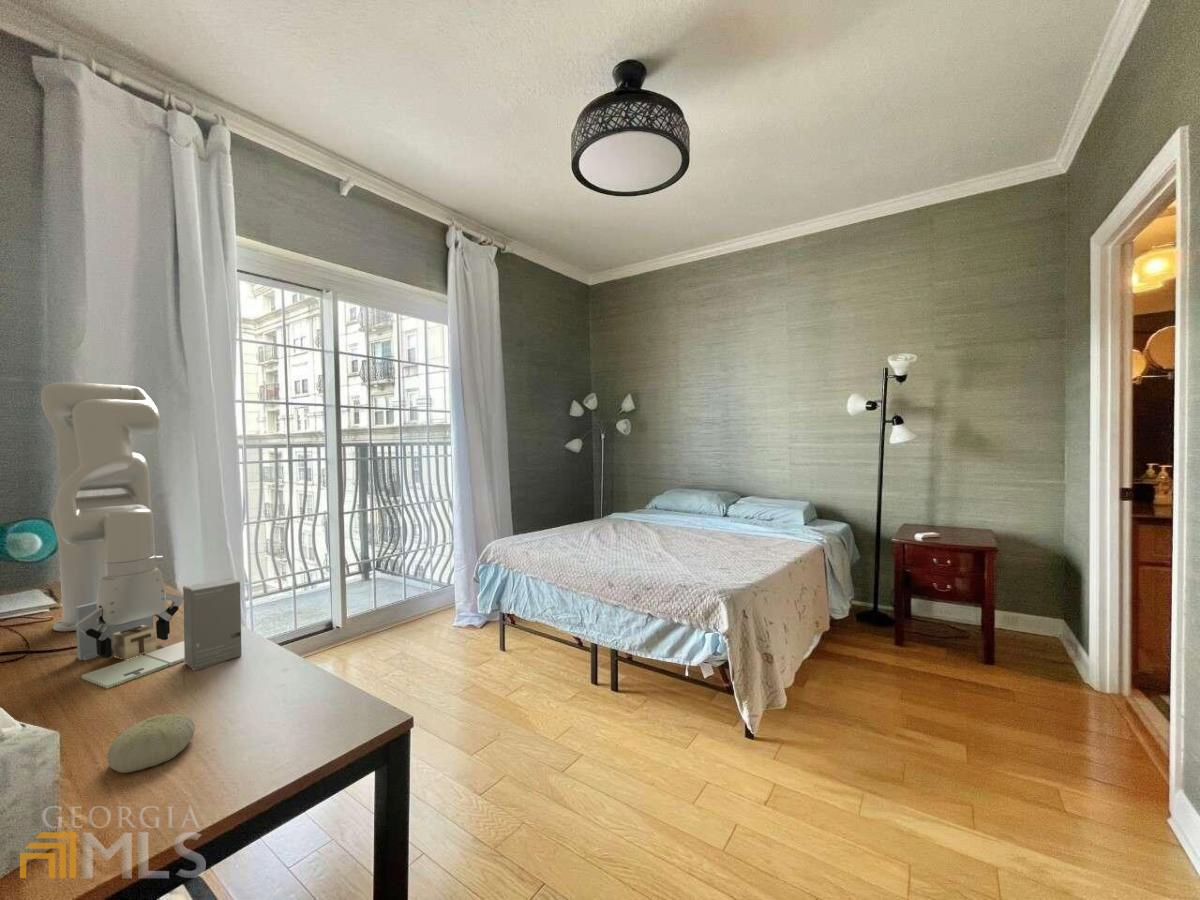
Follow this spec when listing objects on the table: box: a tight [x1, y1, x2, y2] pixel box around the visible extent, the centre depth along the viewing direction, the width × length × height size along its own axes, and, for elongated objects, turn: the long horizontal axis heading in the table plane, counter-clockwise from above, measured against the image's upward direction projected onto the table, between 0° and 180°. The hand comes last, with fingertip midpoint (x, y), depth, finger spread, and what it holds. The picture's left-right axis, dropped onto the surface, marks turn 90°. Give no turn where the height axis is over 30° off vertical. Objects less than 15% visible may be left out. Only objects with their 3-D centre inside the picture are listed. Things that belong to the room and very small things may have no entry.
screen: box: [75, 602, 154, 661], centre depth 104 cm, size 4×12×11 cm, turn 156°
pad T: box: [81, 655, 169, 690], centre depth 93 cm, size 10×9×1 cm
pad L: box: [144, 640, 185, 666], centre depth 101 cm, size 10×9×1 cm
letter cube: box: [113, 625, 158, 661], centre depth 101 cm, size 5×5×5 cm
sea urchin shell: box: [106, 713, 196, 774], centre depth 68 cm, size 9×8×8 cm
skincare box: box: [182, 577, 243, 671], centre depth 98 cm, size 8×7×16 cm
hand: (135, 647), depth 101 cm, fingers open, 8 cm apart
